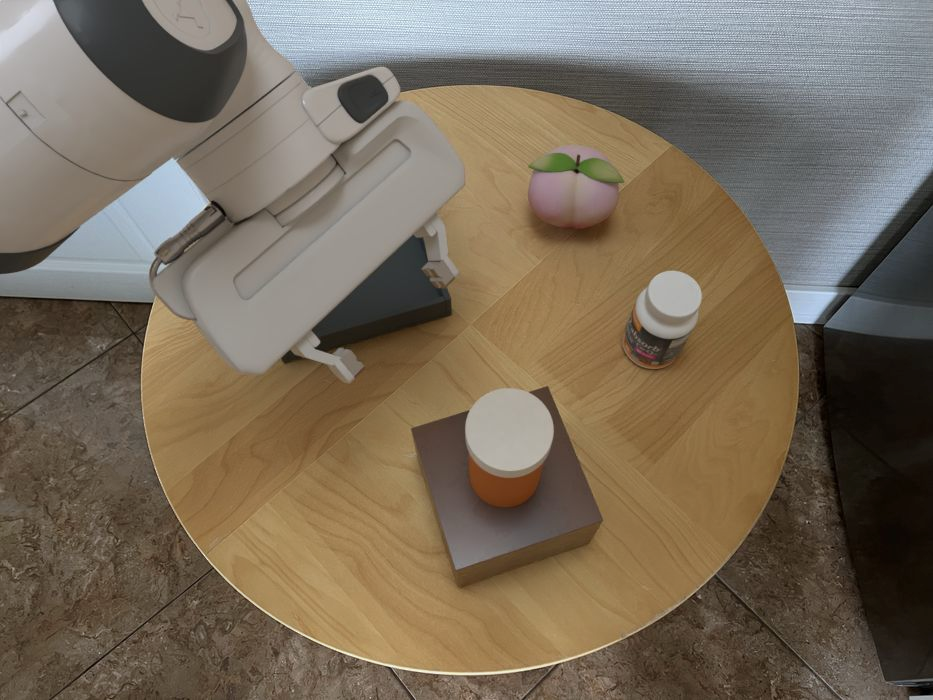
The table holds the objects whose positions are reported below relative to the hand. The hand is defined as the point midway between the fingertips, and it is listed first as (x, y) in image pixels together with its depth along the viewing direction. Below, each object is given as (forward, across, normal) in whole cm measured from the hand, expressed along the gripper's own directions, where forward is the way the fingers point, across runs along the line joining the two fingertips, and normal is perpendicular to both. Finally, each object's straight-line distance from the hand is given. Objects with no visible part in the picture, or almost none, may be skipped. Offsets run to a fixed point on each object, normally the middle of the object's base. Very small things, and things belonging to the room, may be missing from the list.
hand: (402, 327), depth 51 cm
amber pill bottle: (+16, 0, +2) cm, 16 cm away
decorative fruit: (+12, +29, +18) cm, 36 cm away
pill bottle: (+23, +22, +7) cm, 32 cm away
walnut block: (+22, 0, +8) cm, 23 cm away
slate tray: (+3, +8, +27) cm, 28 cm away
